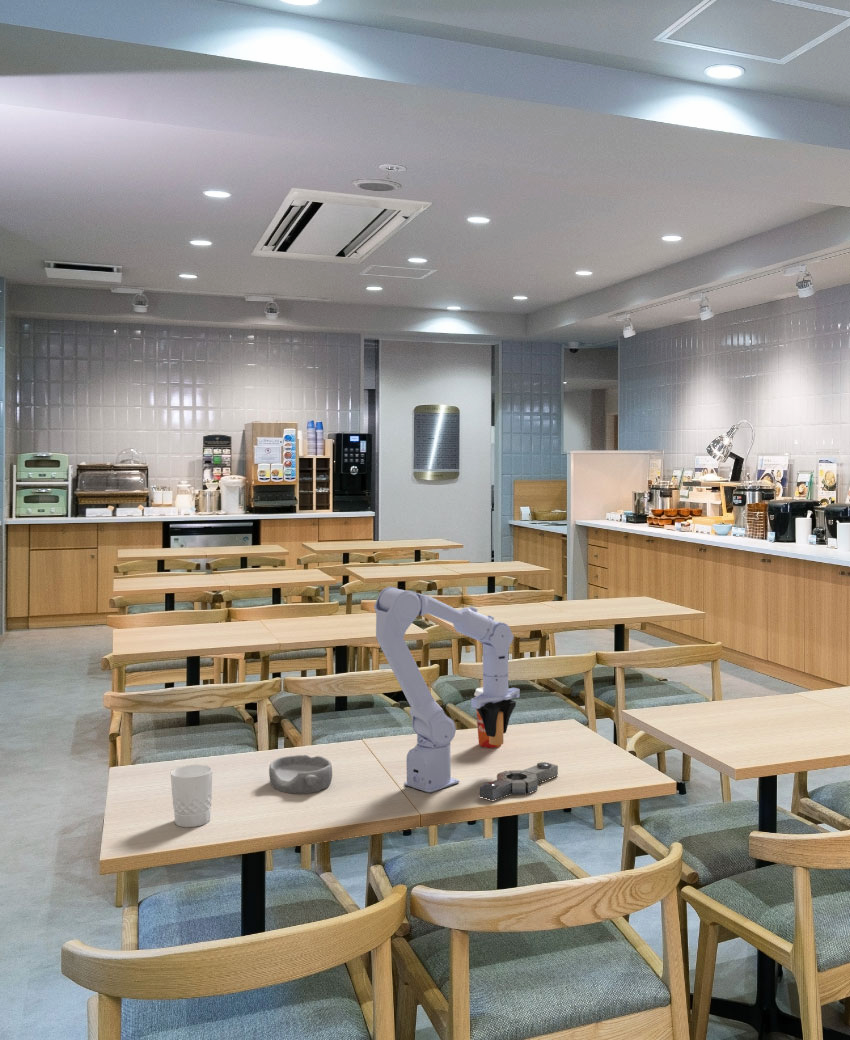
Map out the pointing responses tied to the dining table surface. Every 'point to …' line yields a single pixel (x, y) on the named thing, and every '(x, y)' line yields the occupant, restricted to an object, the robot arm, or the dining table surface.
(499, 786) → the left chain end
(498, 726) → the orange pin
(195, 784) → the white cup
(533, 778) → the right chain end
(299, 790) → the dish
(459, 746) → the dining table surface
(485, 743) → the paper cup
